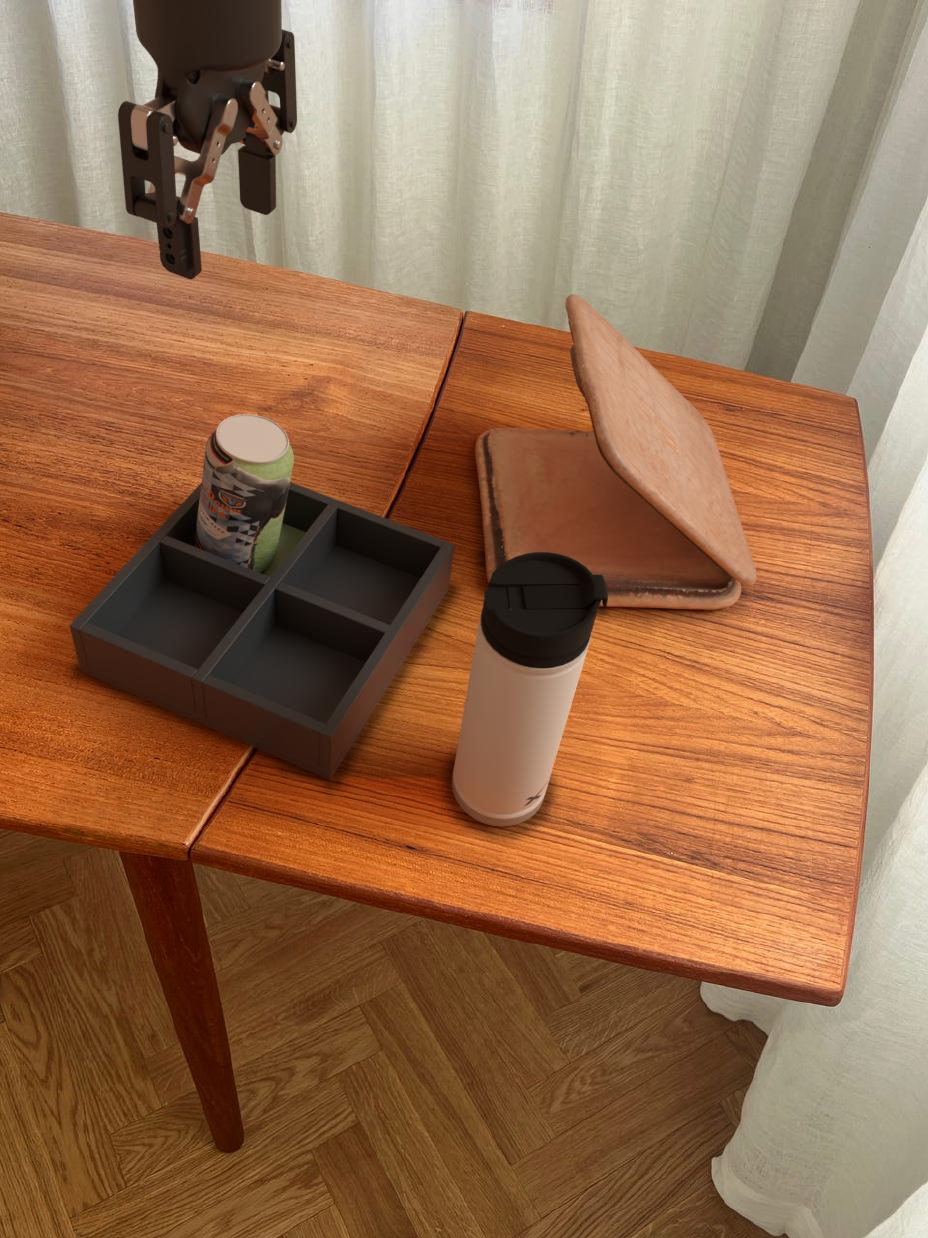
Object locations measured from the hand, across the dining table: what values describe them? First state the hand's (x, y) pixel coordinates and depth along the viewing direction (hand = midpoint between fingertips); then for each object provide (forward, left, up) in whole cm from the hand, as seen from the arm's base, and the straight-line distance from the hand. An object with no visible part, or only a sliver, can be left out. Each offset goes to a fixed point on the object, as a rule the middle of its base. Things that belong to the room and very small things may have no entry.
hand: (221, 239), depth 68 cm
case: (+25, +16, -26) cm, 39 cm away
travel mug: (+27, -12, -26) cm, 39 cm away
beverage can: (+2, -3, -25) cm, 25 cm away
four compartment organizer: (+7, -7, -26) cm, 27 cm away
